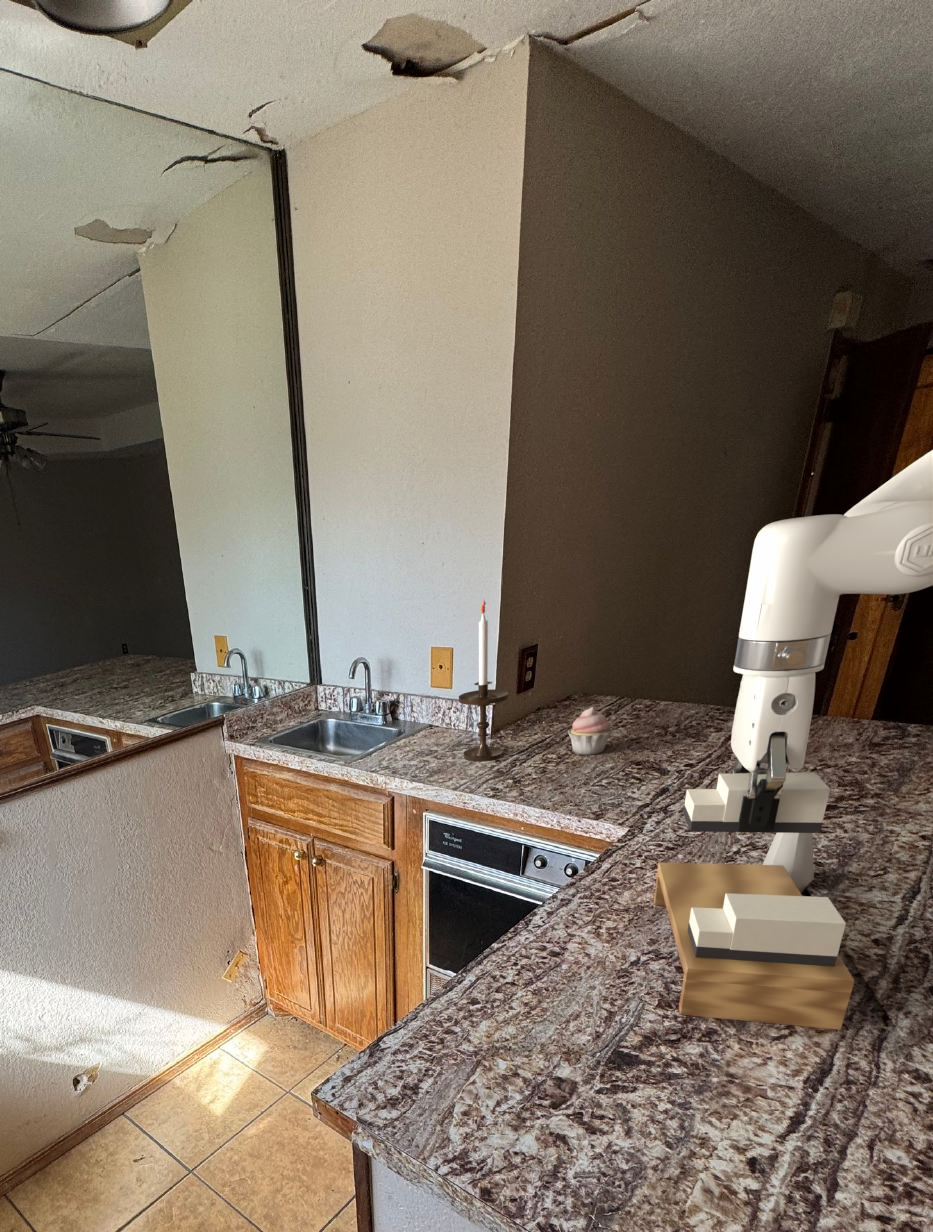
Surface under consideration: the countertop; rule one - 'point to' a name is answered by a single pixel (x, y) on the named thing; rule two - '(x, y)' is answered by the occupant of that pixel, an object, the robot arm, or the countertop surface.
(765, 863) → the salt shaker
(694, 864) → the shoe shelf
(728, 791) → the trainer
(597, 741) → the cupcake
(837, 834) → the countertop surface
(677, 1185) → the countertop surface
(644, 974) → the countertop surface
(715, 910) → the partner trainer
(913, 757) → the countertop surface
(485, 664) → the candlestick
